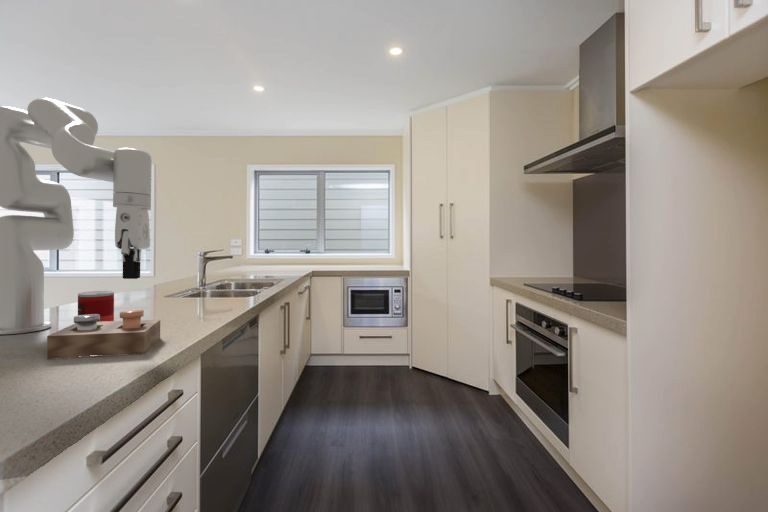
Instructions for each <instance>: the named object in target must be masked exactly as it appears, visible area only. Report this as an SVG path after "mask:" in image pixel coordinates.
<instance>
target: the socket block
mask: <svg viewBox="0 0 768 512" xmlns="http://www.w3.org/2000/svg"><path fill="white" fill-rule="evenodd" d="M46 338H47V339H46V347H47V348H46V359H47V360H56V358H61V359H69V358H68V357H77V358H80V357H79V356H90V355H111V356H119V355H118V354H128V355H143V354H146V353H147V352H148V351H149V350H150V349H151V348H152V347H153V346H154V345H155V344H156V343H157V342H159V340H160V339H161V319H141V328H125V329H123V320H114V321H103V322H97V329H96V330H77V323H73V324H71V325H69V326H67V327H63V328H62V329H60V330H58V331H55V332H52V333H51V334H48V335H47V336H46ZM54 358H55V359H54Z"/></svg>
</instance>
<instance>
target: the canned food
mask: <svg viewBox="0 0 768 512" xmlns="http://www.w3.org/2000/svg"><path fill="white" fill-rule="evenodd" d="M87 314H98V315H100V321H97V322H103V321H115V316H114V315H115V292H114V291H112V290H93V291H84V292H79V293H78V294H77V316H79V315H87Z"/></svg>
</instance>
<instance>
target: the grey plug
mask: <svg viewBox="0 0 768 512" xmlns="http://www.w3.org/2000/svg"><path fill="white" fill-rule="evenodd" d="M97 321H100V315H98V314H87V315H79V316H78V315H75V316H73V324H75V323H77V330H96V329H97Z"/></svg>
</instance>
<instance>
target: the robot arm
mask: <svg viewBox="0 0 768 512" xmlns="http://www.w3.org/2000/svg"><path fill="white" fill-rule="evenodd" d="M98 123H99V122H97V119H96V118H95V116H94V115H93V114H92V113H91V112H90V111H88V110H86V109H85V108H84V109H83V108H81V107H77V106H74V105H72V104H68V103H65V102H62V101H59V100H57V99H52V98H48V97H45V98H44V97H43V98H36V99H33V100H32V101H31V102H29V103H28V105H27V110H24V109H20V108H16V107H11V106H5V105H0V208H2V209H5V210H8V211H14V212H15V211H17V212H29V213H38V214H43V216H36V215H34V216H33V215H20V214H19V215H18V214H10V215H3V216H0V335H15V334H17V335H18V334H26V333H33V332H39V331H42V330H47V329H50V328H51V327H52V322H51V321H49V320H48V321H47V320H45V266H44V264H43V262H42V260H41V258H40V257H39V256H38V255H37V254H36V253H35V252H34V251H57V250H58V251H59V250H60V251H61V250H65V249H67V248H69V247H70V246H71V245H72V243H73V241H74V237H75V235H74V233H75V232H74V221H73V209H72V200H71V196H70V193H69V190H68V189H67V188H66V187H65V186H64V185H62V184H61V183H58V182H55V181H51V180H45V179H39V178H38V177H37V173H36V163H35V161H34V159H33V157H32V156H31V154H30V153H29V152H28V151H27V150H26V149H25V147H23V146H22V145H21V144H20V143H25V144H30V145H34V146H38V147H42V148H47V149H51V153H52V155H53V157H54V159H55V160H56V162H57V163H59V164H60V165H61V166H62V167H63V168H65V170H67V171H68V172H69V173H71V174H73V175H75V176H78V177H82V178H86V179H93V180H98V181H104V182H108V183H110V182H111V183H113V185H112V186H113V187H112V188H113V189H112V196H113V197H112V207H113V208H116V211H115V212H116V214H115V224H114V225H115V226H114V244H115V247H116V248H117V249H119V250H120V254H121V256H122V257H121V258H122V279H123V280H127V279H128V280H129V279H130V280H137V279H139V278H141V259H142V258H141V254H142V250H147V249H149V248H151V237H150V236H151V232H150V230H151V228H150V217H149V215H150V214H149V210H150V211H151V209H152V165H153V164H152V162H153V161H152V156H151V155H150V154H149V152H147V151H144V150H140V149H136V148H129V147H122V148H117V149H115V151H113V150H111V149H106V148H102V147H99V146H94V143H95V140H96V136H97V134H98V132H99V125H98Z"/></svg>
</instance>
